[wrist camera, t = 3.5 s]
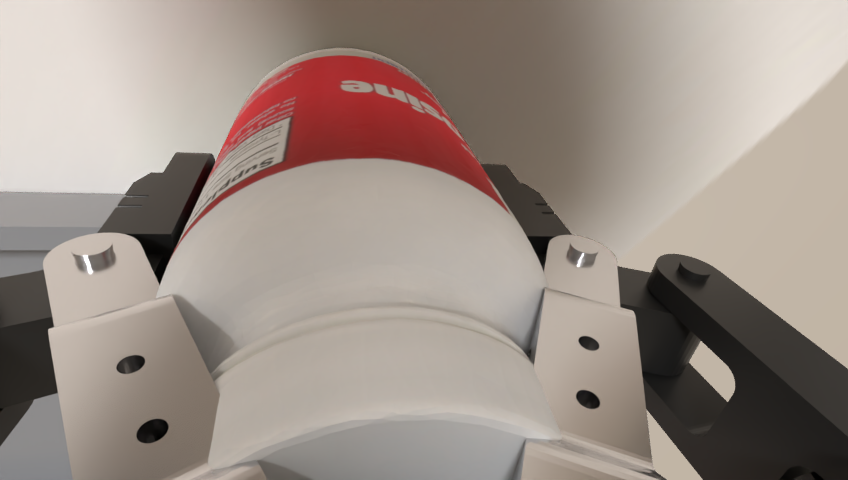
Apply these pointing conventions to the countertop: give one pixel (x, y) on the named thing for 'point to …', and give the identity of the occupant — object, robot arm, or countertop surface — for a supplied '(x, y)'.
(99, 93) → the countertop surface
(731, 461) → the robot arm
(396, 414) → the pill bottle
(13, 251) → the slate dish
